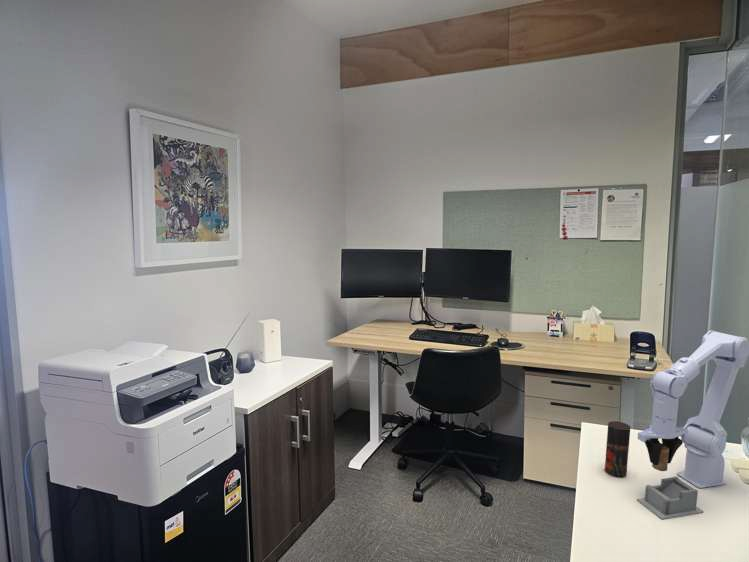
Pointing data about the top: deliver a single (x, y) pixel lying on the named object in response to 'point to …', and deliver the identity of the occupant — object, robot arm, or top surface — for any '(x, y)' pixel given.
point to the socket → (671, 499)
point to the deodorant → (617, 449)
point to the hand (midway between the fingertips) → (660, 462)
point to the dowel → (662, 460)
